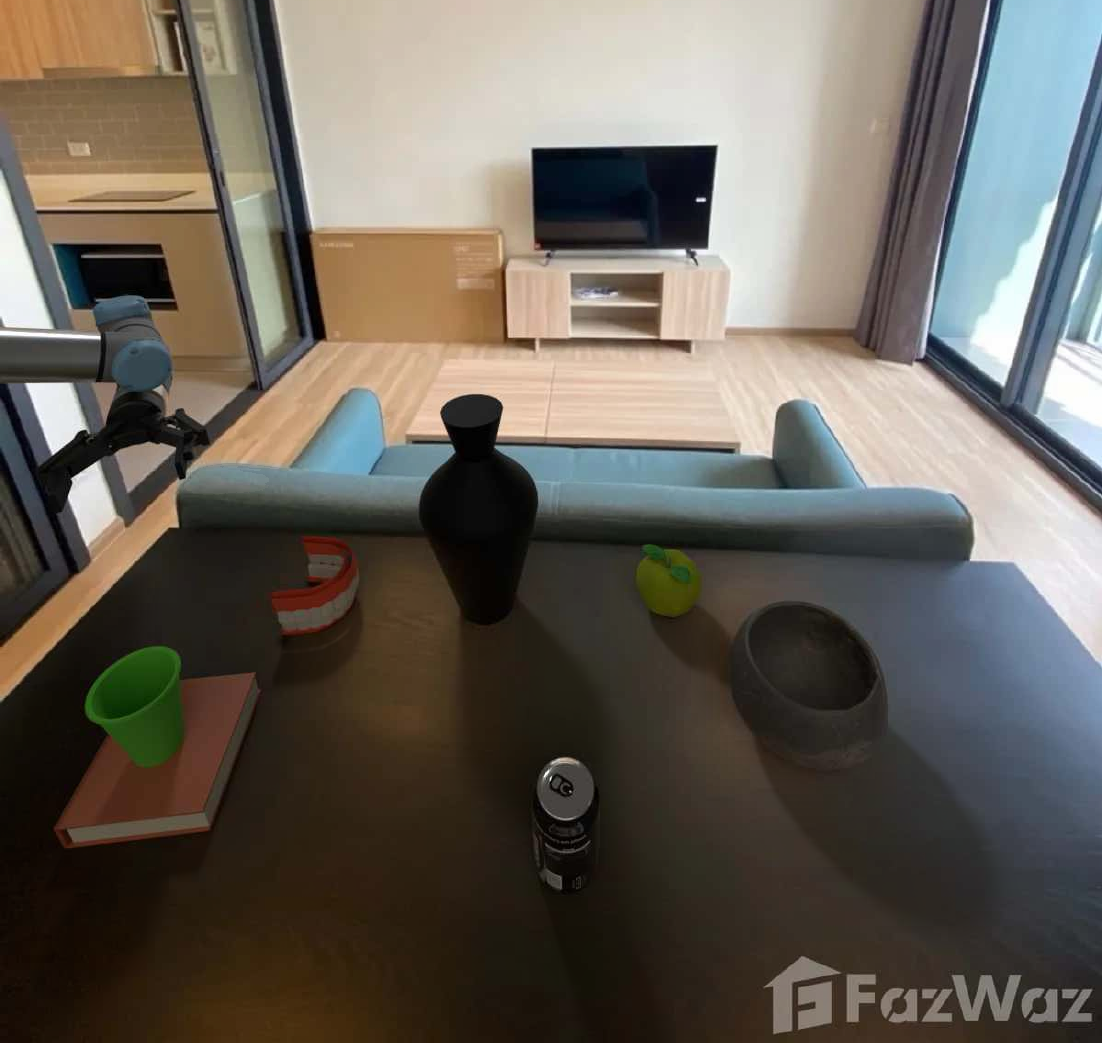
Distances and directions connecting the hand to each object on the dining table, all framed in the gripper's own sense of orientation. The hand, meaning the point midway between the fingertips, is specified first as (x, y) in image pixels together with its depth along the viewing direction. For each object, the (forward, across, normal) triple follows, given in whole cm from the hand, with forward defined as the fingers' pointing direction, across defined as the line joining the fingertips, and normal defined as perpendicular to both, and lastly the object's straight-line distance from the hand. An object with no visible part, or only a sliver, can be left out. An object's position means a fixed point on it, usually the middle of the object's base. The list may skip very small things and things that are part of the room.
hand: (119, 487), depth 77 cm
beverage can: (+50, -39, -28) cm, 69 cm away
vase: (+16, -43, -28) cm, 54 cm away
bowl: (+51, -71, -28) cm, 92 cm away
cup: (+19, 0, -25) cm, 31 cm away
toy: (+4, -21, -28) cm, 35 cm away
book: (+19, -1, -28) cm, 34 cm away
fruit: (+30, -68, -28) cm, 79 cm away
